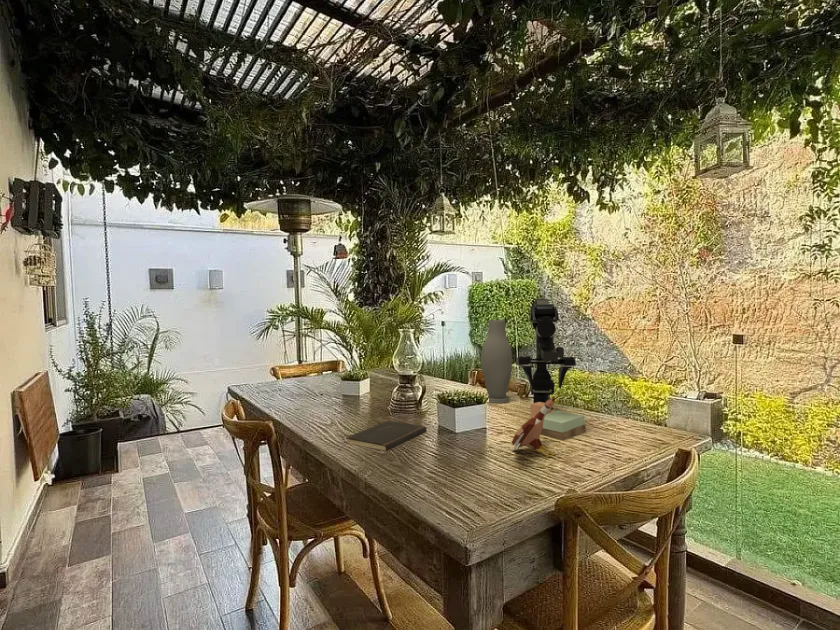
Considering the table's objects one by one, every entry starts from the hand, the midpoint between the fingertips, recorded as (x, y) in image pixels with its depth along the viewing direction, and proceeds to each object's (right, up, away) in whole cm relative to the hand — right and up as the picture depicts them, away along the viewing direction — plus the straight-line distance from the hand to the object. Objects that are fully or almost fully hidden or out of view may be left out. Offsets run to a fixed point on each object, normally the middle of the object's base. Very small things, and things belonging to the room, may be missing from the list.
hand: (545, 387), depth 154 cm
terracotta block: (+2, -14, +15) cm, 21 cm away
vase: (-8, -13, +47) cm, 50 cm away
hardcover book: (-52, -17, -2) cm, 55 cm away
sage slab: (+4, -12, -1) cm, 13 cm away
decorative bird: (-9, -16, -21) cm, 28 cm away
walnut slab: (+5, -15, -1) cm, 16 cm away
